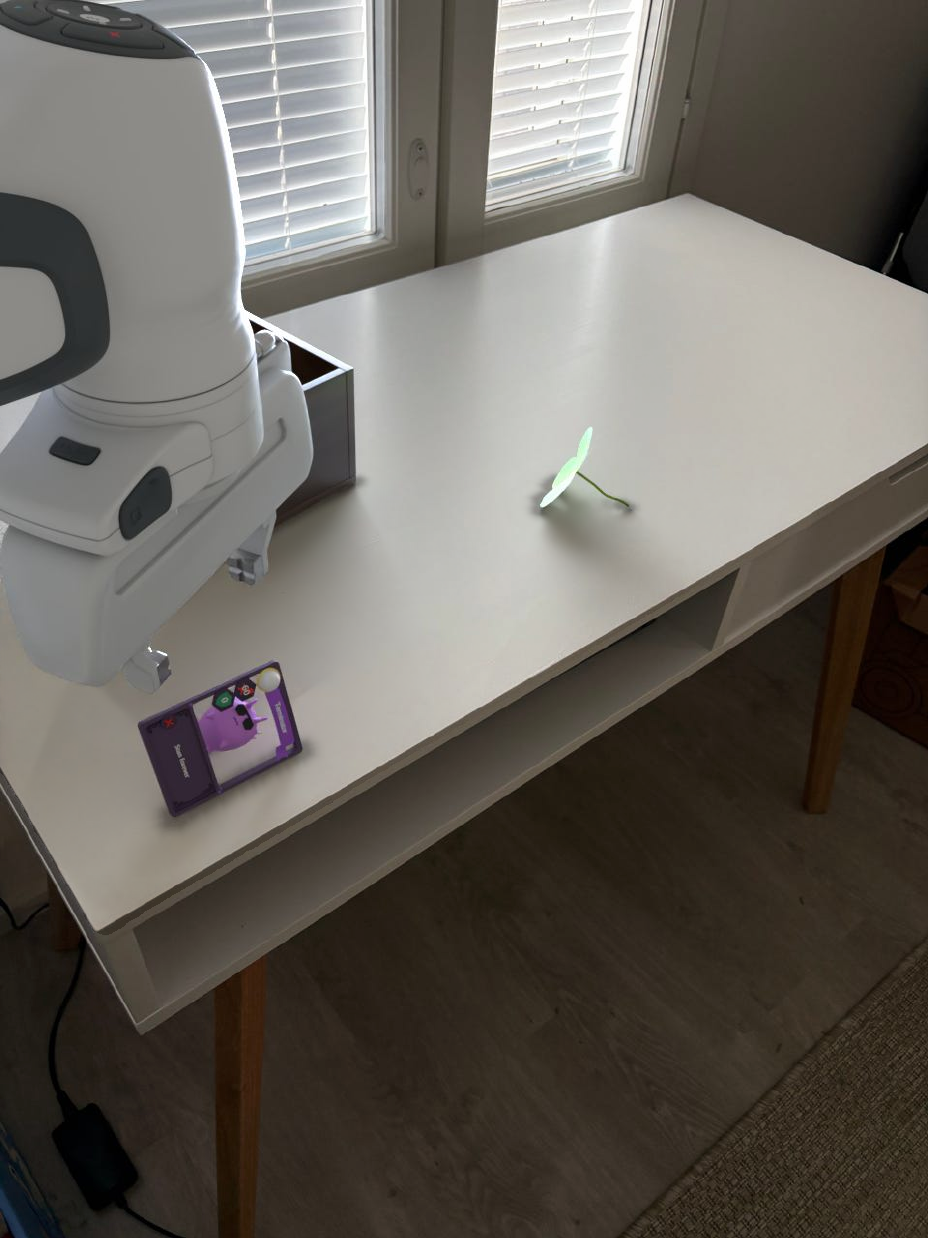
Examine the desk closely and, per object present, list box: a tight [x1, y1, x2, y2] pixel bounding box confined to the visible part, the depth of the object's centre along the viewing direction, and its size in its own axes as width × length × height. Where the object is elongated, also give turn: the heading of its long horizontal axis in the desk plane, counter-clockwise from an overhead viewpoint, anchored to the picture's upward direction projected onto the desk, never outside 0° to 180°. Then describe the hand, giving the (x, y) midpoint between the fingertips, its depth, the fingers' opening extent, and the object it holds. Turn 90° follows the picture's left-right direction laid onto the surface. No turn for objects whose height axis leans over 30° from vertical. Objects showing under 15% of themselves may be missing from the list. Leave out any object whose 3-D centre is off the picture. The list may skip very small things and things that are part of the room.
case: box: [244, 309, 357, 529], centre depth 82 cm, size 16×14×11 cm
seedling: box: [539, 426, 630, 508], centre depth 85 cm, size 7×8×7 cm
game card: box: [136, 659, 304, 818], centre depth 62 cm, size 7×5×9 cm
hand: (202, 626), depth 56 cm, fingers open, 8 cm apart
